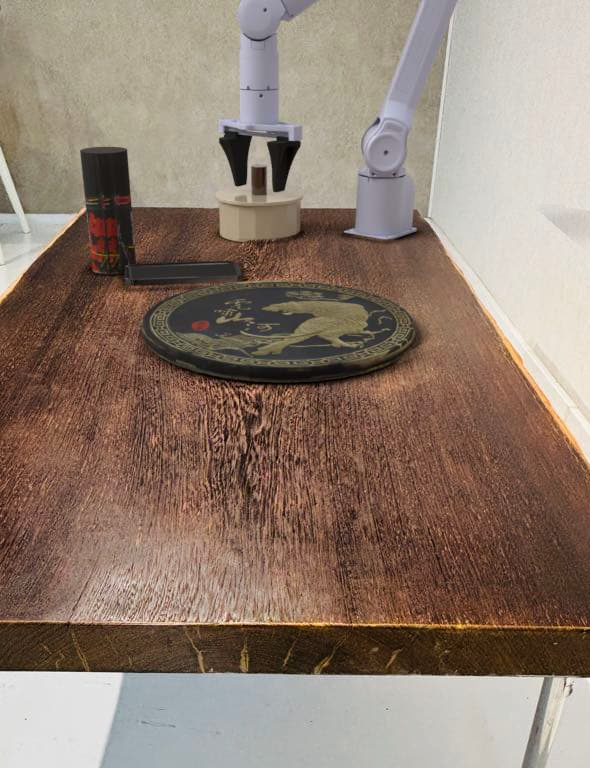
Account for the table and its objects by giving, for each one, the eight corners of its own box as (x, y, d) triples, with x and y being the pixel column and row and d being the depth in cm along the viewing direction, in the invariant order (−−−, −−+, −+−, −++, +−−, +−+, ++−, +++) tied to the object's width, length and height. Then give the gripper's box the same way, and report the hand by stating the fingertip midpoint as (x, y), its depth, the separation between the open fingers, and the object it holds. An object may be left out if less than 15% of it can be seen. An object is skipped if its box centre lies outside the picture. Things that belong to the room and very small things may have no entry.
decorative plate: (100, 354, 84) (183, 272, 109) (101, 372, 85) (183, 287, 110) (409, 379, 79) (422, 287, 104) (407, 398, 80) (420, 302, 105)
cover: (253, 189, 141) (253, 156, 138) (320, 200, 134) (321, 164, 131) (197, 202, 132) (195, 167, 129) (265, 214, 125) (265, 176, 122)
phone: (124, 264, 115) (236, 260, 116) (125, 273, 115) (236, 268, 117) (124, 280, 108) (242, 275, 110) (125, 289, 109) (242, 284, 110)
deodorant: (87, 266, 119) (74, 148, 111) (128, 261, 121) (119, 145, 113) (99, 276, 114) (87, 154, 106) (142, 271, 116) (133, 151, 108)
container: (254, 221, 143) (253, 186, 140) (315, 232, 136) (316, 196, 133) (203, 234, 135) (201, 198, 132) (265, 247, 128) (265, 209, 125)
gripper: (203, 88, 126) (207, 186, 133) (281, 93, 118) (280, 197, 125) (235, 84, 130) (236, 180, 138) (311, 90, 123) (309, 190, 130)
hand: (259, 188), depth 132 cm, fingers open, 7 cm apart
